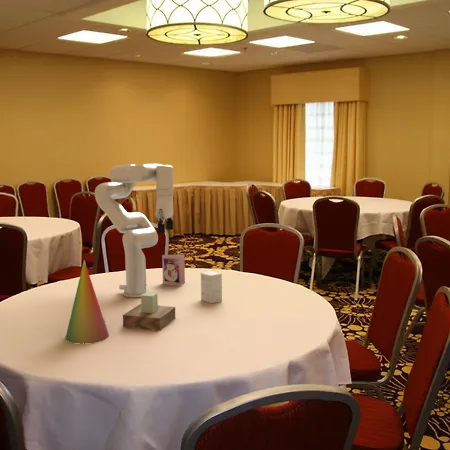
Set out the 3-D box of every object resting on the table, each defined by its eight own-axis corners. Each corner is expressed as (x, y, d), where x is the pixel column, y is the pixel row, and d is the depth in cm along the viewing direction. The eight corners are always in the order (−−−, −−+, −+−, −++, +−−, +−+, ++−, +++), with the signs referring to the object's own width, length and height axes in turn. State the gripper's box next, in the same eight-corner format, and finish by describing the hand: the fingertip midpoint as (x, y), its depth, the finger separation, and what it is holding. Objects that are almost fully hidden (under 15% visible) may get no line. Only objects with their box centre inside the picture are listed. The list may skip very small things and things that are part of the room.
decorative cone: (65, 346, 211) (61, 265, 207) (65, 331, 227) (61, 256, 222) (110, 341, 216) (107, 262, 211) (107, 328, 231) (104, 254, 227)
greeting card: (161, 283, 300) (161, 255, 298) (169, 280, 307) (169, 252, 305) (180, 286, 295) (180, 257, 293) (188, 283, 302) (187, 254, 299)
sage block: (141, 312, 235) (140, 295, 234) (146, 308, 240) (146, 292, 239) (152, 313, 234) (152, 296, 233) (157, 309, 238) (157, 293, 237)
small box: (222, 301, 268) (222, 273, 266) (211, 303, 264) (211, 275, 262) (211, 297, 275) (211, 270, 273) (200, 299, 271) (200, 272, 269)
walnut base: (123, 327, 232) (122, 314, 231) (140, 315, 247) (140, 303, 247) (160, 330, 228) (160, 318, 227) (175, 318, 243) (175, 307, 242)
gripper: (164, 191, 267) (165, 227, 269) (149, 194, 250) (149, 233, 253) (179, 191, 265) (180, 228, 267) (165, 195, 248) (166, 234, 251)
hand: (165, 231), depth 260 cm, fingers open, 9 cm apart
